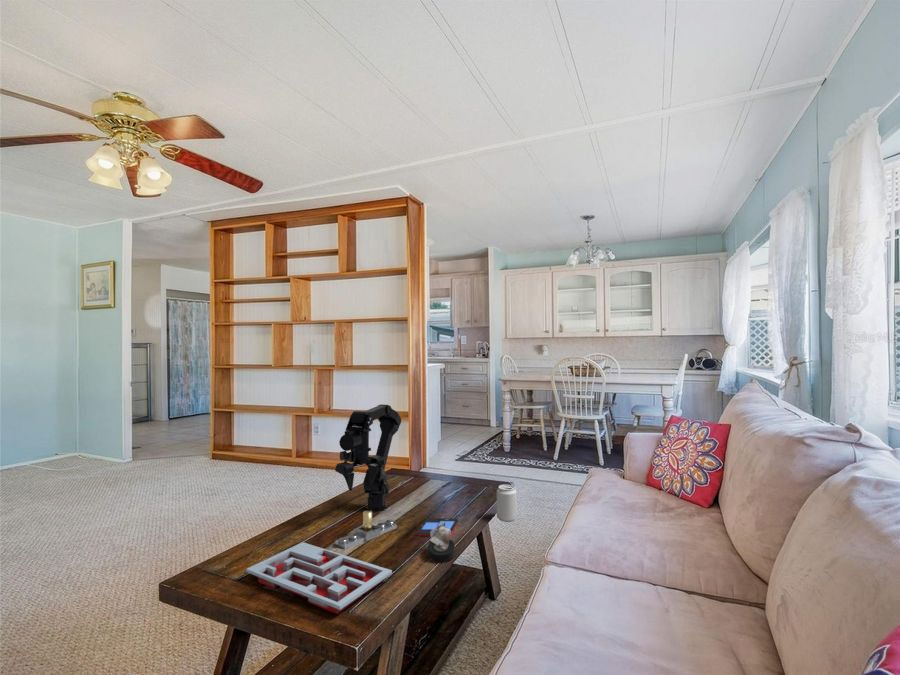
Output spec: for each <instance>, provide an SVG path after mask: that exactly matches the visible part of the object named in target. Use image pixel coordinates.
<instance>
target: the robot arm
mask: <svg viewBox="0 0 900 675" xmlns="http://www.w3.org/2000/svg"><path fill="white" fill-rule="evenodd" d="M375 420H378V422H379V429H380V431H381V433H380V436H379V437H380V438H379V442H378V445H377V449H376V452H375V454H374V455H369V454H370V453H369V452H371V451H372V448H371V447H370V443H369V442H370V441H369V440H370V432H372V429H371V427H370V426H372V425H373V424H374V421H375ZM401 423H402V418H401V416H400V414H399V412H398V411H396V410H395V409H393V408H392V406H391V405H390V404H378V405H376V406H375V407H372V408H369V409H367V410H354V411H353V412H351V414H350V417H349V418H348V422H347V424H346V428H345V430H344V434H343V435H342V436H341V437H340V439H339V447H340V448H341V449H342V450H341V451H339V460H340V461H343V462H339V463H337V464H336V465H335V468H334V469H335V472H337V473H338V474H340V475H342V477H343V478H344V479H345V483H346V485H347V487H348V490H349V491H350V492H351V491H352V490H353V486H354V478H355V472H354V470H355V469H357V468H361V467H366V466H367V469H366V472H365V476H364V477H363V482H362V484H363V489H364V494H368V496H367V506H365V509H367V510H370V511H372V512H375V513H378V512H380V511H383V510H386V509H388V508H389V506H388V505H386V503H387V501H386V495H388V494H389V492H390V488H391V487H390V484H389V483H388V482H387V479H388V478H387V474H386V471H385V469H386V465H387V461H388V457H389V452H390V448H391V444H392V440H393V437H394V435H395V434H396V433H397V432H398V431H399V429H400V426H401Z"/></svg>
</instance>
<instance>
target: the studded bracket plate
mask: <svg viewBox="0 0 900 675" xmlns="http://www.w3.org/2000/svg"><path fill="white" fill-rule="evenodd" d="M397 526H398V525H397V524H396V523H395V520H393V519H387V520H385V521H383V522H379V523H377V524H375V525H374V524H372V530H370V531H368V532H365V531H363V525H362V526H359V527H356V528H354V533H351V534H349V535H346V536H345V537H339V538H338V539H336V540H335V545H336V546H338V547H339V548H342V549H344V550H346V549H349V548H351V547H354V546H355V545H359V544H360V543H364V542H368V541H370V540H373V539H375V538H379V537H380V536H381V535H383V534H385V533H388V532H391V531H393V530H395V529H396V530H397Z"/></svg>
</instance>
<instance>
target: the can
mask: <svg viewBox="0 0 900 675" xmlns="http://www.w3.org/2000/svg"><path fill="white" fill-rule="evenodd" d="M517 492H518V491H517V490H516V487H515V486H514V485H513V484H500V485H498V488H497V489H496V517H497V519H498V520H499V521H500V522H504V523H509V522H511V523H512V522H514V521H515V520H516V519H517V518H518V510H517V509H518V504H517V502H518V499H517V498H518V493H517Z"/></svg>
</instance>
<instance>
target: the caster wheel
mask: <svg viewBox="0 0 900 675" xmlns="http://www.w3.org/2000/svg"><path fill="white" fill-rule="evenodd" d="M455 548H456V547H455V543H454V541H453V540H452V537H451V530H449V529H448V528H446V527H445V522H444V523H442V524H441V525H439V526H438V527H436V528H435V529H433V530H432V531H431V532H430V537H429V543H428V545H427V555H428V558H429V559H430V560H431V561H433V562H436V563H446V562H448V561H450V560H452V559H453V558H454V557H455V553H456V549H455Z"/></svg>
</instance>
